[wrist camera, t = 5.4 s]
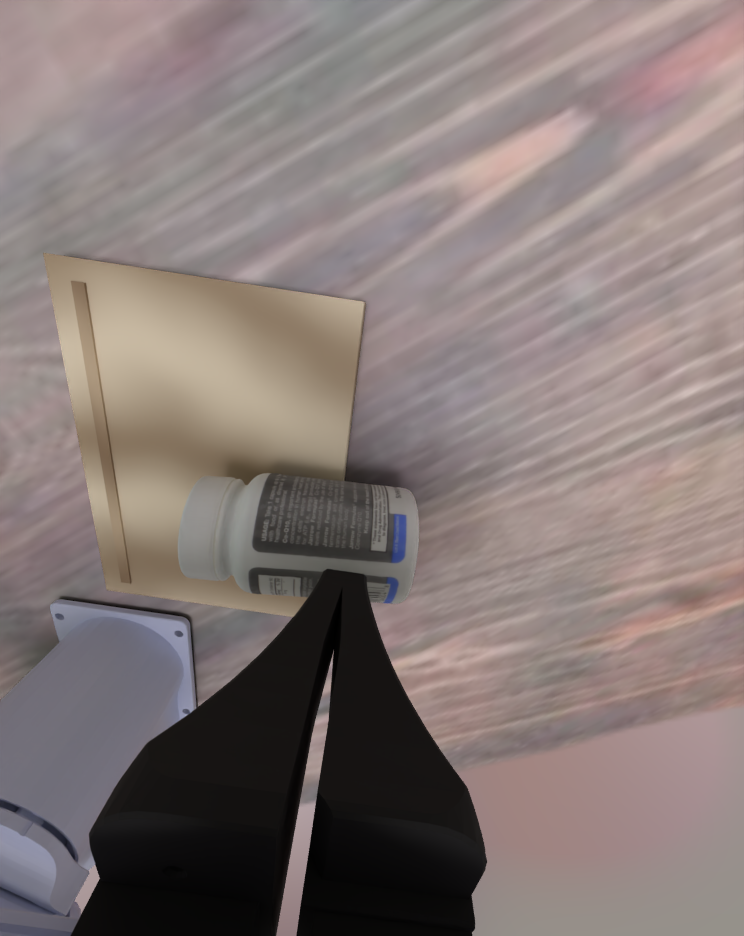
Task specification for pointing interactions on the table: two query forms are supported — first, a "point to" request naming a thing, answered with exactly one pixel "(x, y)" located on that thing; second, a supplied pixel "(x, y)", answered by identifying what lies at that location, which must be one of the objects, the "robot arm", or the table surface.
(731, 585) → the table surface
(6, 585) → the table surface
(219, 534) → the pill bottle
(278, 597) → the beech board
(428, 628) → the table surface
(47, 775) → the robot arm
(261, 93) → the table surface
